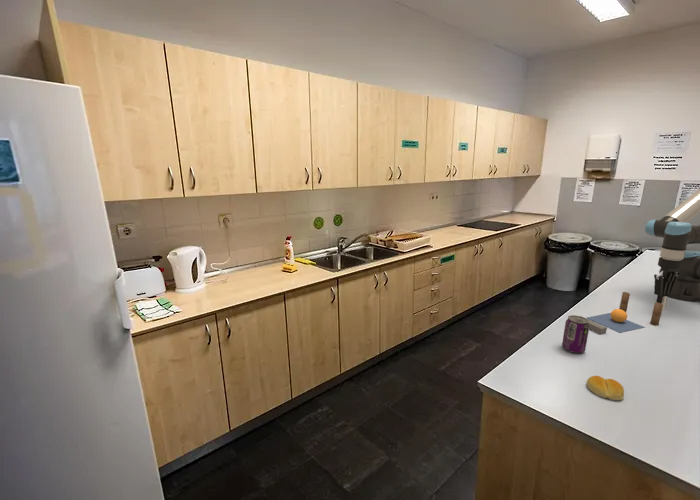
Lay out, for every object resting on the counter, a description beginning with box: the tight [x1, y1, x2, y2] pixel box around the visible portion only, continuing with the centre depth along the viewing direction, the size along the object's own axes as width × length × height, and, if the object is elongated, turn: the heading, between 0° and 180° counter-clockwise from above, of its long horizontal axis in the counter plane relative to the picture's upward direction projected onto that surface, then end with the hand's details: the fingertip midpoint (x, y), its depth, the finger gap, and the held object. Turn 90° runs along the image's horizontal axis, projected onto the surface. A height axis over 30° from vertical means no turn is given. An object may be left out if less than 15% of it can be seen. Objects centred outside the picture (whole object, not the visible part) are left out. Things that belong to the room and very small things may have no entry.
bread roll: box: [586, 375, 625, 401], centre depth 99 cm, size 8×9×4 cm
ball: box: [610, 308, 628, 322], centre depth 142 cm, size 6×6×6 cm
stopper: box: [580, 315, 608, 335], centre depth 137 cm, size 3×11×2 cm, turn 18°
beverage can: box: [561, 314, 590, 354], centre depth 121 cm, size 7×7×12 cm
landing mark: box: [586, 312, 645, 334], centre depth 141 cm, size 14×14×1 cm
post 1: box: [618, 291, 631, 313], centre depth 150 cm, size 3×3×9 cm
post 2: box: [649, 302, 663, 326], centre depth 139 cm, size 3×3×9 cm
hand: (659, 309), depth 149 cm, fingers closed
